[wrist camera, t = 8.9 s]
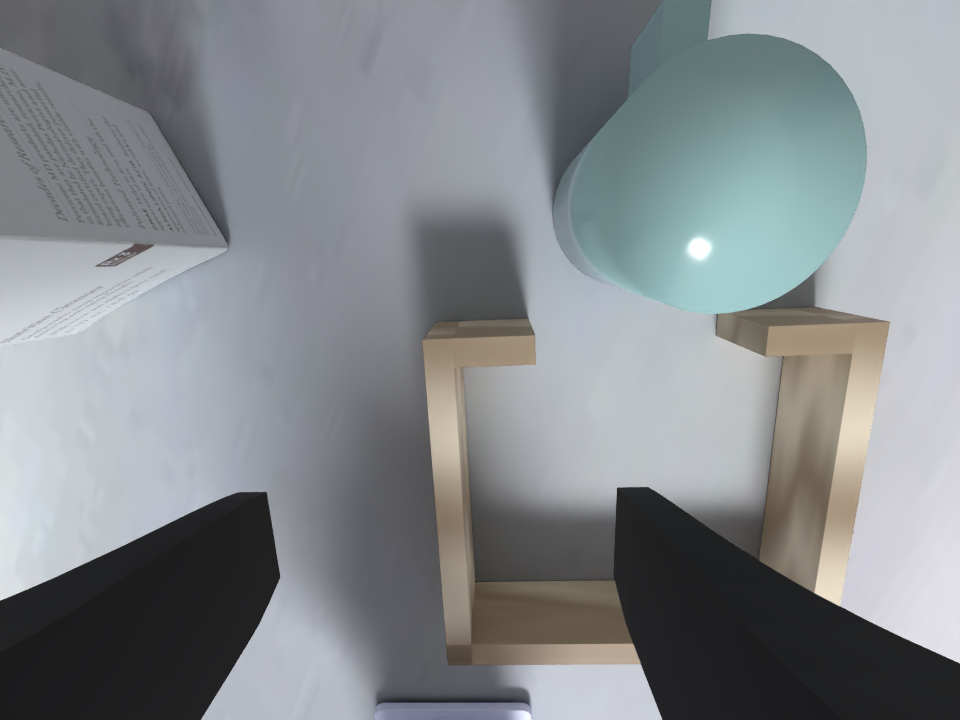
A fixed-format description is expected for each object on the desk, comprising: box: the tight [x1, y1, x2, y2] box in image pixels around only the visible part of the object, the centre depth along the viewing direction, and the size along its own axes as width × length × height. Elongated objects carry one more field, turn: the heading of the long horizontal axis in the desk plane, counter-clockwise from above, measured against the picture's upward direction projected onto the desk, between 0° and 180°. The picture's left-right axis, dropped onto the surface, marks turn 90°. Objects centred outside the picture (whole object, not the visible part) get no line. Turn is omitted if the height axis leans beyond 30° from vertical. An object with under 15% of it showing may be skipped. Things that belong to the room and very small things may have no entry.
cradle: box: [422, 307, 890, 665], centre depth 18 cm, size 14×15×4 cm
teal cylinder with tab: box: [553, 0, 867, 314], centre depth 13 cm, size 6×8×8 cm
